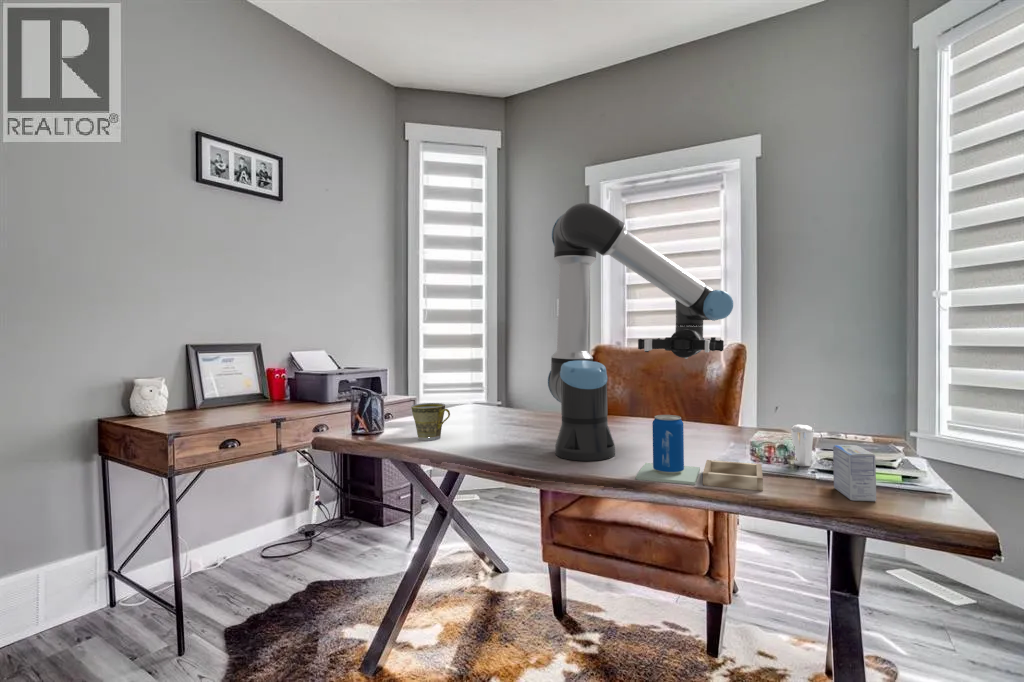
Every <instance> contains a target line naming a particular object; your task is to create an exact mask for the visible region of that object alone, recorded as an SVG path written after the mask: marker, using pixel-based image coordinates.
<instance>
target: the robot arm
mask: <svg viewBox="0 0 1024 682" xmlns="http://www.w3.org/2000/svg"><path fill="white" fill-rule="evenodd" d="M551 242H552V244H553V247H554V248H553V249H554V250H553V252H554V255H553V257H554V258H553V260H554V261H555V262H556V263H557V264H558V265H559V266H558V269H559V271H558V273H559V274H558V301H557V302H558V303H557V342H556V343H557V345H556V351H555V352H554V353H553V354H552V355H551V357H550V358H551V359H550V361H551V364H550V370H549V373H548V377H547V387H548V389H549V392H550V393H551V395H552V397H553V398H554V399H555V400H556V401H557V402H559V403H560V405H561V407H560V408H561V410H560V411H561V415H560V416H561V425H560V429H559V432H558V435H557V438H556V441H555V446H554V447H555V449H554V451H555V453H554V454H555V455H556V456H557V457H559V458H562V459H565V460H569V461H570V460H571V461H580V462H581V461H582V462H583V461H584V462H591V461H594V462H595V461H603V460H607V459H610V458H611V459H612V458H613V457H615V456H616V445H615V442H614V439H613V436H612V433H611V430H610V427H609V424H608V421H609V420H608V373H607V368H606V365H604V363H601V362H598V361H594V357H593V356H592V355H591V354H590V353H589V325H590V324H589V323H590V321H589V320H590V294H591V293H590V292H591V291H590V288H591V286H590V285H591V265H592V264H593V263H594V262H596V260H597V253H598V254H600V255H601V256H602V257H604V256H610V257H611V258H613V259H615V260H616V261H617V262H619V263H621V264H622V265H623V266H625V267H627V268H628V269H629V270H631V271H632V272H634V273H635V274H637V275H638V276H639V277H641V278H643V279H644V280H646V281H647V282H649V283H650V284H651V285H653V286H654V287H657V288H658V289H659V290H661V291H662V292H663V293H665V294H667V295H668V296H670V297H671V298H672V299H674V301H675V302H674V303H675V332H674V333H672V335H671V336H670V337H665V338H660V337H659V338H638V340H637V349H638V350H643V351H644V353H649V352H650V351H652V350H665V351H669V352H671V353H673V355H675V356H677V357H678V358H682V359H687V360H688V359H689V358H690V357H692V356H695V355H697V354H699V353H701V351H704V353H710V352H715V351H717V352H723V351H724V350H725V349H724V346H725V341H724V340H723V339H717V340H716V338H717V337H716V336H714V337H710V339H709V338H707V339H705V338H704V321H714V322H715V321H718V320H719V321H720V320H723V319H726V318H727V317H729V316H730V315H731V314H732V311H733V308H734V300H733V297H732V296H731V295H730V294H729V292H726V291H725V290H720V289H714V288H712V287H711V286H709V285H708V284H706V283H704V282H703V281H701V280H700V279H698V278H697V277H695V276H694V275H693V274H691V273H690V272H688V271H686V269H684V268H682V267H681V266H680V265H678V264H676V263H675V262H674V261H673V260H671V259H669V258H668V257H666V256H665V255H664V254H662V253H660V252H659V251H658V250H656V249H655V248H653V247H652V246H651V245H649V244H647V242H645V241H643V240H642V239H640V237H639V238H638V237H637V236H636V235H635V234H633V233H632V232H630V231H629V230H627V228H626V223H625V222H623V221H621V220H620V219H619V218H617V217H616V216H614V215H613V214H611V213H609V212H608V211H607V210H605V209H603V208H602V207H600V206H598V205H596V204H593V203H588V202H580V203H576V204H574V205H572V206H571V207H569V208H568V209H567V210H566V212H565V213H563V214H562V215H560V216H559V217H558V218H557V220H556V221H555V222H554V225H553V227H552V230H551Z"/></svg>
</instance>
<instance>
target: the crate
mask: <svg viewBox="0 0 1024 682" xmlns="http://www.w3.org/2000/svg"><path fill="white" fill-rule="evenodd" d="M763 477H764V476H763V466H762V463H750V462H739V461H725V460H712V459H706V462H705V465H704V468H703V472H702V486H708V487H718V488H719V487H720V488H729V489H739V490H750V491H758V492H759V491H760V492H763V490H764V487H763V486H764V483H763V482H764V480H763V479H764V478H763Z"/></svg>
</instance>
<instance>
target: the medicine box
mask: <svg viewBox="0 0 1024 682" xmlns="http://www.w3.org/2000/svg"><path fill="white" fill-rule="evenodd" d="M832 452H833V453H832V457H833V458H832V459H833V488H834V489H835V490H837V491H838V492H840V494H842V495H843V496H845V497H846V498H847V499H849V500H850V501H854V502H876V501H877V470H876V469H877V467H876V455H875V453H872V452H871V451H869V450H866V448H863V447H861V446H859V445H856V444H855V445H854V444H837V445H833V451H832Z"/></svg>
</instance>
